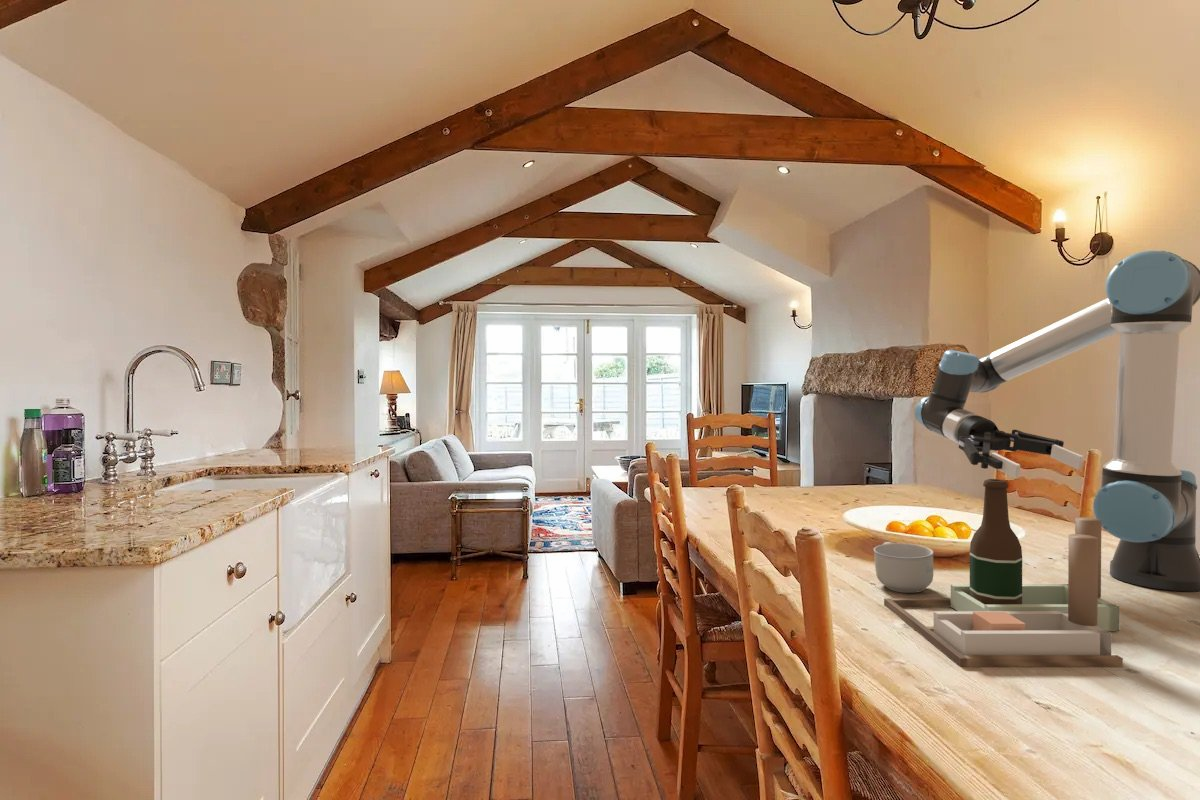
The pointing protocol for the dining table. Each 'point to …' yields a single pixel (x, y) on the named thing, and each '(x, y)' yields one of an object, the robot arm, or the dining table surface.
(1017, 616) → the tray
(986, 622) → the terracotta cube
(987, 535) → the beer bottle
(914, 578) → the teacup
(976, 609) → the bottle sled
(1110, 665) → the lane rails
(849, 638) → the dining table surface
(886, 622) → the dining table surface
